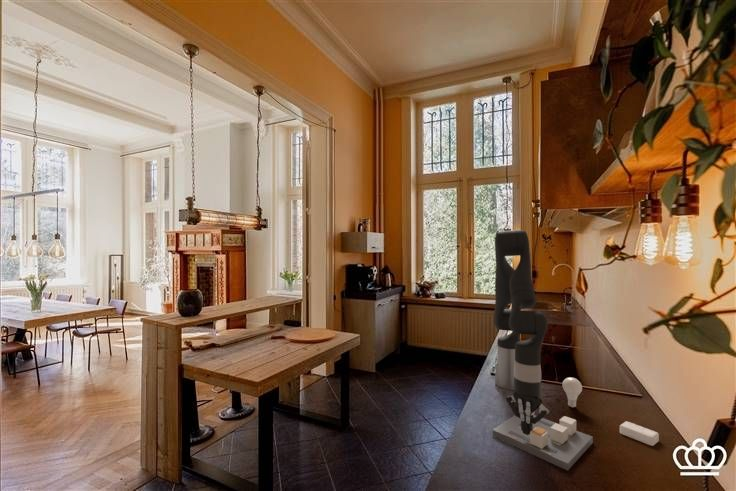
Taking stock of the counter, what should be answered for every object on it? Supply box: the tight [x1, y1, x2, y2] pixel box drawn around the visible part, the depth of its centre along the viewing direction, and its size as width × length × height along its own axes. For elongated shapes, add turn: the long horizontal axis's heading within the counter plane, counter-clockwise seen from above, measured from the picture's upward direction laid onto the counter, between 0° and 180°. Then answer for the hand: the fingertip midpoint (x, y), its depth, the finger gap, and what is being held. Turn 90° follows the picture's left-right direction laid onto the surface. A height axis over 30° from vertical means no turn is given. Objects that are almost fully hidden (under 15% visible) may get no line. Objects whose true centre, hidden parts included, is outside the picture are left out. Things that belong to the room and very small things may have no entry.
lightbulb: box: [562, 376, 583, 408], centre depth 130 cm, size 6×6×11 cm
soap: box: [619, 420, 660, 447], centre depth 110 cm, size 9×6×3 cm, turn 34°
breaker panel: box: [492, 414, 594, 471], centre depth 108 cm, size 22×20×6 cm
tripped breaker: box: [530, 427, 548, 449], centre depth 102 cm, size 4×4×4 cm
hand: (526, 433), depth 105 cm, fingers closed
